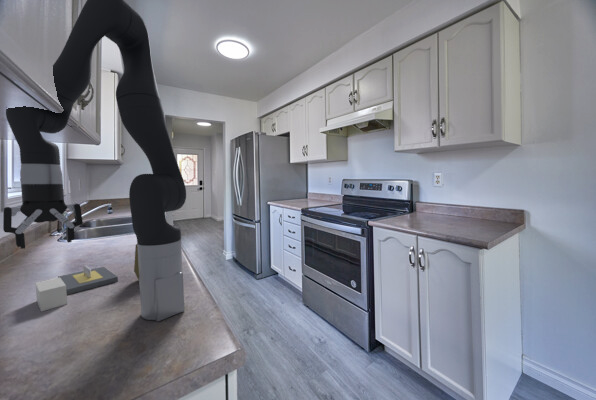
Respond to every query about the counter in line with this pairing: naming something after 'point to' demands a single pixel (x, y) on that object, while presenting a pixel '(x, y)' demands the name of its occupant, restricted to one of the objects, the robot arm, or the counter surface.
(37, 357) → the counter surface
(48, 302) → the block
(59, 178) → the robot arm
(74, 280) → the board
